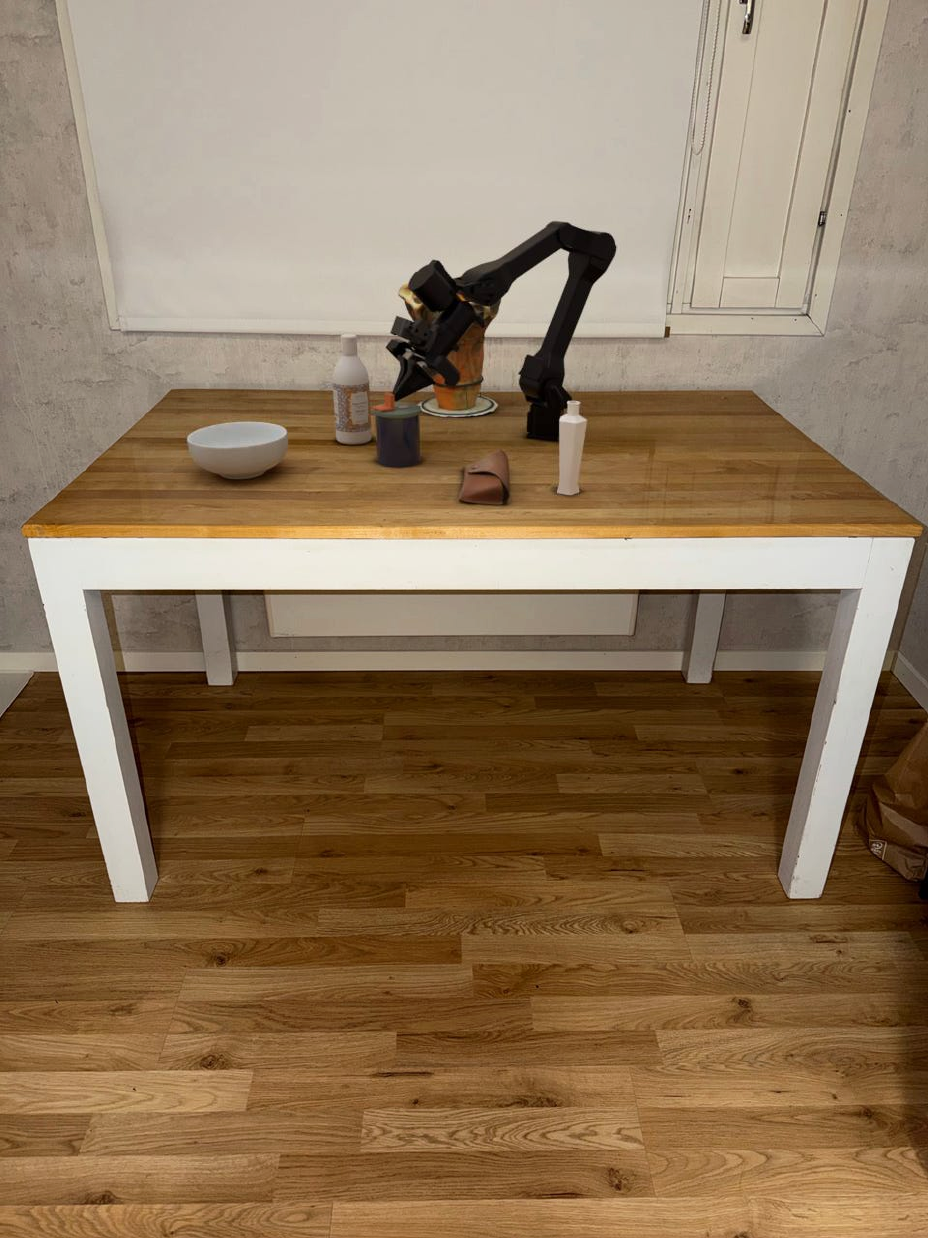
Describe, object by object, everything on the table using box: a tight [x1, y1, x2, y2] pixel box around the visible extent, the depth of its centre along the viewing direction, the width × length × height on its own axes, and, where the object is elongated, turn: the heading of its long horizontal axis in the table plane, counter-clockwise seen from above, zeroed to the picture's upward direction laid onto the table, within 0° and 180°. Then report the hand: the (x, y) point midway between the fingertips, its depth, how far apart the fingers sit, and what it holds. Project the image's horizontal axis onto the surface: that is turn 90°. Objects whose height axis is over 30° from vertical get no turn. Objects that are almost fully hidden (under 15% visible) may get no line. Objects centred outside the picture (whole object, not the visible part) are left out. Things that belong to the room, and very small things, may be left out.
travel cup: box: [372, 401, 422, 468], centre depth 157 cm, size 9×9×10 cm
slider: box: [372, 391, 396, 412], centre depth 153 cm, size 3×3×3 cm
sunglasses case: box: [458, 448, 511, 506], centre depth 146 cm, size 18×7×7 cm
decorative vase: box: [397, 274, 502, 418], centre depth 186 cm, size 21×23×28 cm
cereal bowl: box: [186, 421, 289, 480], centre depth 151 cm, size 17×17×7 cm
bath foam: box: [332, 333, 372, 446], centre depth 165 cm, size 7×7×20 cm
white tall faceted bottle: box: [556, 400, 588, 496], centre depth 142 cm, size 5×4×15 cm
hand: (393, 399), depth 153 cm, fingers closed, pressing on slider
